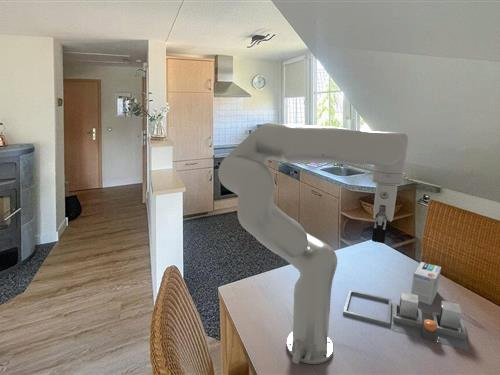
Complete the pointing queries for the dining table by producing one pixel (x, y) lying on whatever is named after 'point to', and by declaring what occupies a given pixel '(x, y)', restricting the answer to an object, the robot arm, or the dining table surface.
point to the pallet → (439, 337)
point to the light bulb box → (426, 282)
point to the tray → (368, 316)
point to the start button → (430, 325)
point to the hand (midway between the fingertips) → (379, 236)
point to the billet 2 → (449, 315)
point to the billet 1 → (408, 306)
